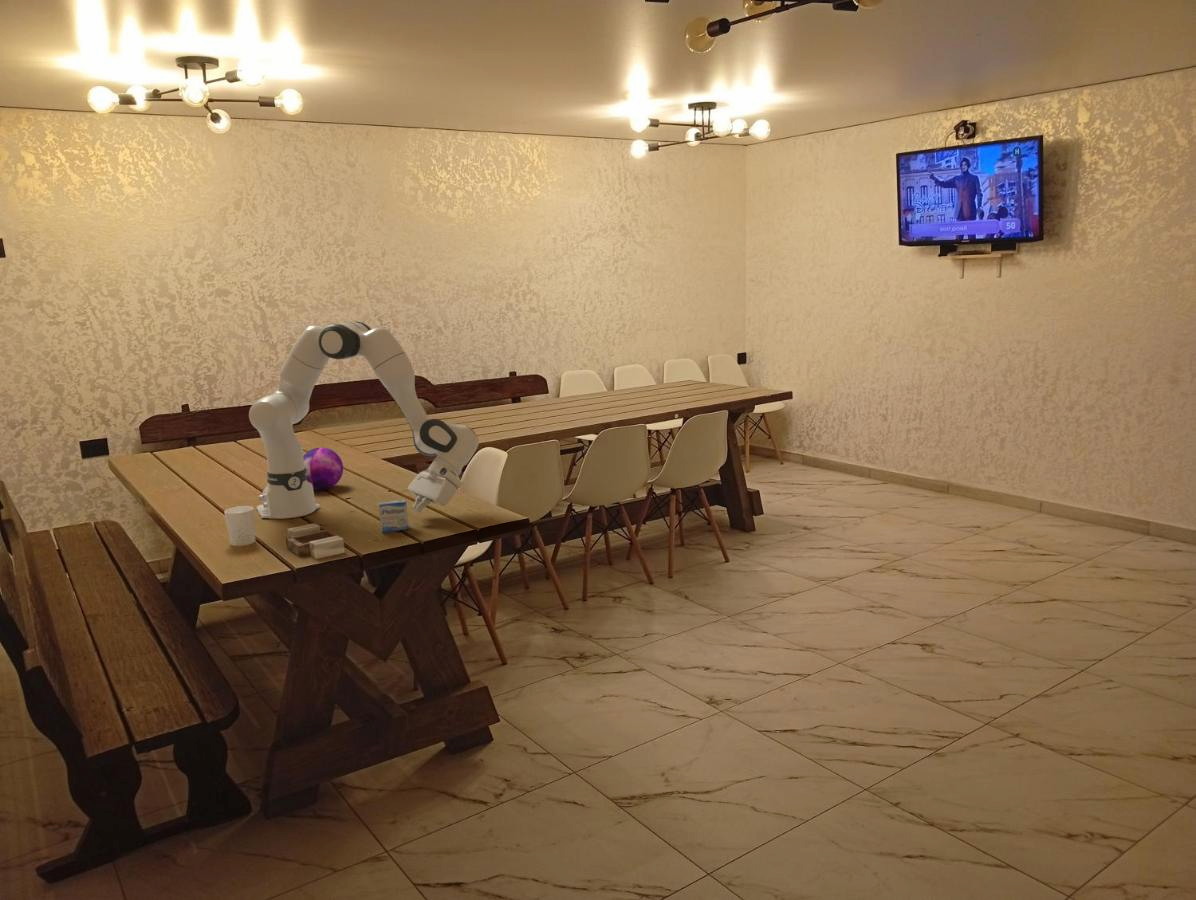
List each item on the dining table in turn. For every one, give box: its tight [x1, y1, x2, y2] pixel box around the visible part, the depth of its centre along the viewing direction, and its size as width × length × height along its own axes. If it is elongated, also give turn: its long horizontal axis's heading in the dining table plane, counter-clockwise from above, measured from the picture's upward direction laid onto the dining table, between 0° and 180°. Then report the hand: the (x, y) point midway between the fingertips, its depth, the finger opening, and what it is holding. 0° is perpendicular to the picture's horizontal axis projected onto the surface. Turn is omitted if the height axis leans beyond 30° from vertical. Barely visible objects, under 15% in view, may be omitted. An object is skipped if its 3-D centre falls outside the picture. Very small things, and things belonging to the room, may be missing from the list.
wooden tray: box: [285, 522, 345, 560], centre depth 252 cm, size 21×12×4 cm, turn 38°
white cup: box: [224, 505, 256, 547], centre depth 259 cm, size 8×8×10 cm
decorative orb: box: [303, 447, 344, 491], centre depth 320 cm, size 15×15×15 cm
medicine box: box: [378, 498, 409, 533], centre depth 267 cm, size 8×4×9 cm, turn 105°
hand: (415, 510), depth 271 cm, fingers closed
